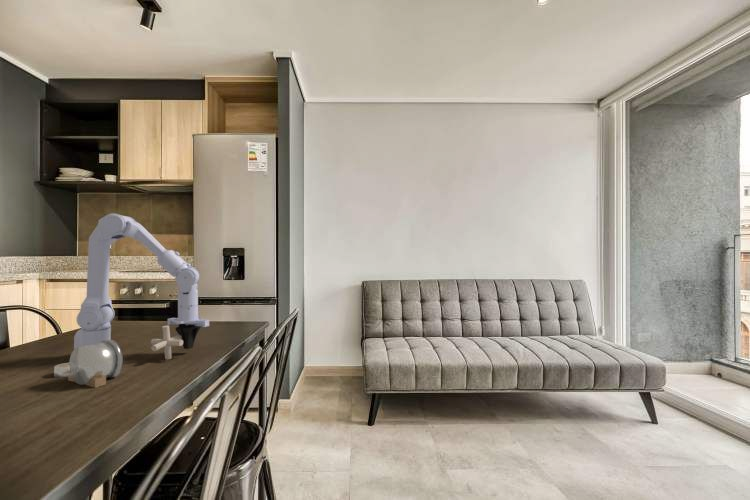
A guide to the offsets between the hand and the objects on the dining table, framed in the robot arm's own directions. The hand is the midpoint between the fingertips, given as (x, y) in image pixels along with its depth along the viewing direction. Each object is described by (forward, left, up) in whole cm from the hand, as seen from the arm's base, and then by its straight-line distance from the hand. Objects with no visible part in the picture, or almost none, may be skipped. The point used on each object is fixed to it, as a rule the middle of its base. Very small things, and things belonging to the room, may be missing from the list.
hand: (188, 348), depth 117 cm
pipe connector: (0, -7, -2) cm, 7 cm away
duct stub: (0, -27, -2) cm, 27 cm away
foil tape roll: (-11, -28, -2) cm, 30 cm away
